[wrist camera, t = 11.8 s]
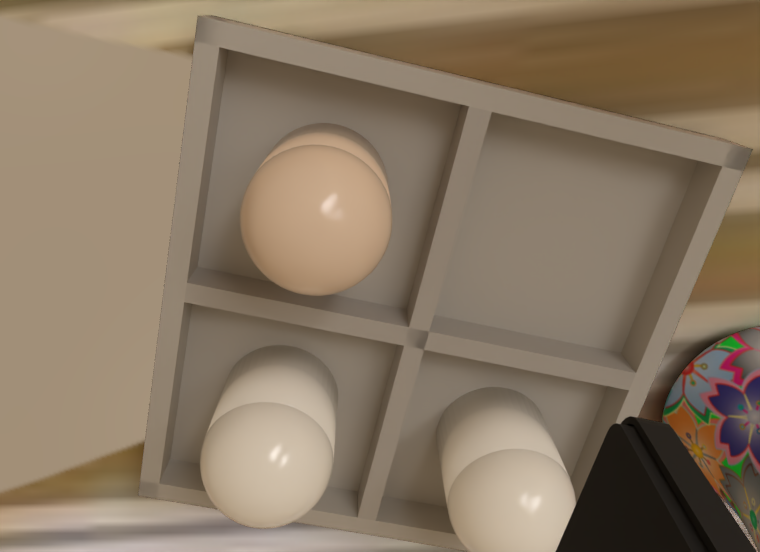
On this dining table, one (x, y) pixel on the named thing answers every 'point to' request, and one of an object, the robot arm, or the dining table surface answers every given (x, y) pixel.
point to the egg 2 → (502, 473)
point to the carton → (429, 266)
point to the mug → (724, 420)
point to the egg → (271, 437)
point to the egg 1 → (318, 211)
